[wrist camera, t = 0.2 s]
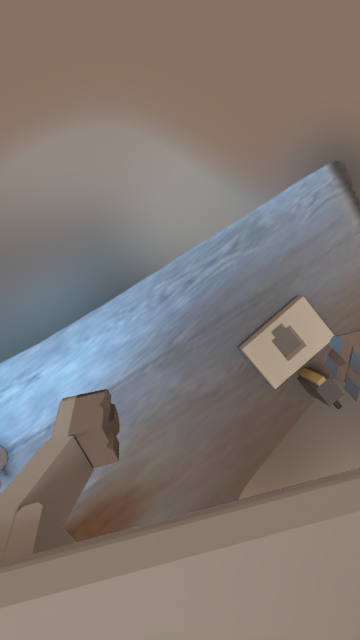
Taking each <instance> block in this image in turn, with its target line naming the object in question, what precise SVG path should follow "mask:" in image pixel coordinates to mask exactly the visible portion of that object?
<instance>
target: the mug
mask: <svg viewBox="0 0 360 640" xmlns="http://www.w3.org/2000/svg"><path fill="white" fill-rule="evenodd" d="M7 460H8V455H7V452H6V450H5V449H4V448H3V447H1V446H0V471H1V469H2V468H3V467H4V466H5V465H6V463H7ZM1 485H2V481H1V480H0V488H1Z"/></svg>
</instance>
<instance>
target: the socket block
mask: <svg viewBox="0 0 360 640" xmlns="http://www.w3.org/2000/svg"><path fill="white" fill-rule="evenodd" d="M333 336H334V335H333V333H332V332H331V331H330V330H329V328H328V327H327V326H326V325H325V323H324V322H323V321H322V319H321V318H320V317H319V316H318V314H317V313H316V312H315V311H314V309H313V308H312V307H311V305H310V304H309V303H308V302H307V300H306V299H305V298H304V297H303V296H299V297H295V298H293V299H292V300H291V301H290V302H289V303H288V304H286V305H285V306H284V307H283V308H282V309H281V310H280V311H278V312H277V313H276V314H275V315H274V316H273V317H271V318H270V319H269V320H268V321H267V322H266V323H265V324H263V325H262V326H261V327H260V328H259V329H258V330H257V331H255V332H254V333H253V334H252V335H251V336H250V337H248V338H247V339H246V340H245V341H244V342H243V343H242V344H240V345H239V346H238V348H239V349H240V350H241V352H242V353H243V354H244V355H245V356H246V358H247V359H248V360H249V361H250V362H251V363H252V365H253V366H254V367H255V368H256V369H257V371H258V372H259V373H260V374H261V375H262V377H263V378H264V379H265V380H266V381H267V382H268V384H269V385H271V386H272V387H273V388H275V389H276V388H277V387H278V386H279V385H281V384H282V383H283V382H284V381H285V380H286V379H288V378H289V377H290V376H291V375H292V374H293V373H294V372H296V371H297V370H298V369H299V368H300V367H301V366H302V365H304V364H305V363H306V362H307V361H308V360H309V359H310V358H312V357H313V356H314V355H315V354H316V353H317V352H319V351H320V350H321V349H322V348H323V347H324V346H325V345H327V344H328V343H329V342H330V339H331V338H332V337H333Z"/></svg>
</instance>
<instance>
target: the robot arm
mask: <svg viewBox="0 0 360 640" xmlns="http://www.w3.org/2000/svg"><path fill="white" fill-rule="evenodd" d="M329 345H330V347H331V348H332V350H331V351H330V352H329V353H328V354H327V365H328V369H329V371H330V373H331V374H332V375H333V377H334V378H335V379H337V380H339V381H341V382H343V383H344V389H345V390H346V391H347V392H348V393H349V394H350V395H351V397H352V398H353V399H354V400H355V401H356V402H360V330H356V331H352V332H348V333H344V334H340V335H336V336H333V337H332V338H331V339H330V343H329ZM118 433H119V417H118V413H117V409H116V407H115V405H114V404H112V403H111V395H110V393H109V391H108V390H107V389H104V390H99V391H95V392H90V393H85V394H80V395H77V396H72V397H67V398H63V399H62V401H61V402H60V405H59V409H58V413H57V417H56V421H55V425H54V429H53V433H52V437H51V441H47V442H46V443H45V444H44V445H43V446H42V447H41V448H40V449H39V451H38V452H37V453H36V454H35V455H34V456H33V457H32V459H31V460H30V461H29V462H28V463H27V464H26V466H25V467H24V468H23V469H22V470H21V471H20V472H19V474H18V475H17V476H16V477H15V478H14V479H13V481H12V482H11V483H10V484H9V485H8V486H7V487H6V489H5V490H4V491H3V492H2V493H1V494H0V640H360V468H359V469H355V470H351V471H347V472H343V473H340V474H336V475H332V476H328V477H324V478H321V479H317V480H313V481H309V482H305V483H301V484H298V485H294V486H290V487H286V488H282V489H278V490H275V491H271V492H267V493H263V494H260V495H256V496H252V497H248V498H244V499H241V500H237V501H233V502H229V503H225V504H221V505H218V506H214V507H210V508H206V509H202V510H199V511H195V512H191V513H187V514H184V515H180V516H176V517H172V518H168V519H165V520H161V521H157V522H153V523H149V524H145V525H142V526H138V527H134V528H130V529H126V530H123V531H119V532H115V533H111V534H107V535H103V536H100V537H96V538H92V539H88V540H84V541H81V542H77V543H76V542H75V541H74V540H73V539H72V538H71V537H70V535H69V534H68V533H67V532H66V531H65V530H64V529H63V528H62V527H63V525H64V523H65V521H66V519H67V518H68V516H69V514H70V512H71V510H72V508H73V507H74V505H75V503H76V501H77V499H78V498H79V496H80V494H81V492H82V490H83V489H84V487H85V485H86V483H87V481H88V479H89V478H90V476H91V474H92V472H93V468H97V467H100V466H104V465H108V464H111V463H115V462H118V461H119V442H118V439H117V437H116V436H117V434H118Z"/></svg>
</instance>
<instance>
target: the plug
mask: <svg viewBox="0 0 360 640" xmlns="http://www.w3.org/2000/svg"><path fill="white" fill-rule="evenodd" d="M298 374H299V375H300V377H298V378H297V379H298V380H299V382H300V383H301V384H302V385H303V386H304V388H305V389H306V390H307V391H308V393H309V394H311V395H312V396H314V397H315V398H317V399H319V400H320V401H322V402H323V403H325V404H327V405H328V406H331V405H332V404H334V406H335V407H336V408H337V409H340V408H341V407H342V405H341V404H340V403H339V402H338V401H337V400H338V399H339V398H340V397H341V396H342V395H343V393H342V391H341V390H340V389H339V388H338V386H337V385H336V384H335V383H334V381H333V380H332V379H331V378H330V377H329V376H327V375H325V374H322V373H320V372H318V371H316V370H314V369H311V368H309V369H306V368H303V369H302V370H300V371H299V372H298Z"/></svg>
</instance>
